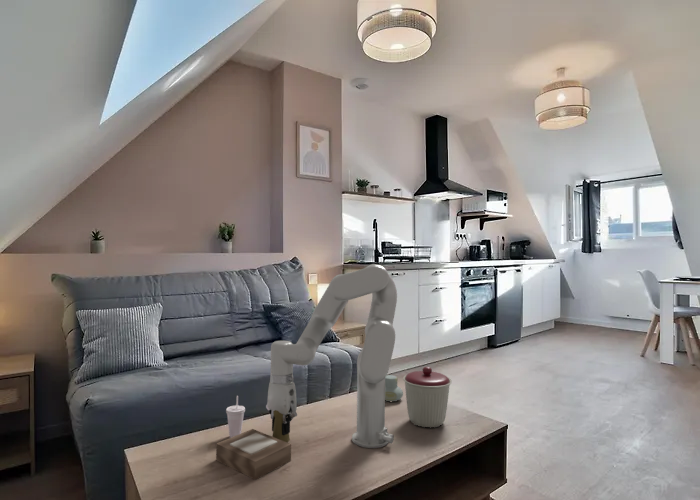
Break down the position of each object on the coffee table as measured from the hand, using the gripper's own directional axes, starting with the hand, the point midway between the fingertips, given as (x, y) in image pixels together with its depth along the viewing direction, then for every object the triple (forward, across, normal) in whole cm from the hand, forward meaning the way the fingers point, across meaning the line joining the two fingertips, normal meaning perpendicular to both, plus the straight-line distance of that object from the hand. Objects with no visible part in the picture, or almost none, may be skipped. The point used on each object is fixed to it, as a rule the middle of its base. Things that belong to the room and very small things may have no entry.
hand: (280, 431), depth 142 cm
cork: (+3, 0, 0) cm, 3 cm away
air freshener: (+3, -8, -58) cm, 59 cm away
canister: (+3, -32, -45) cm, 55 cm away
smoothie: (+3, +14, +8) cm, 16 cm away
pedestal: (+3, -4, +15) cm, 16 cm away
